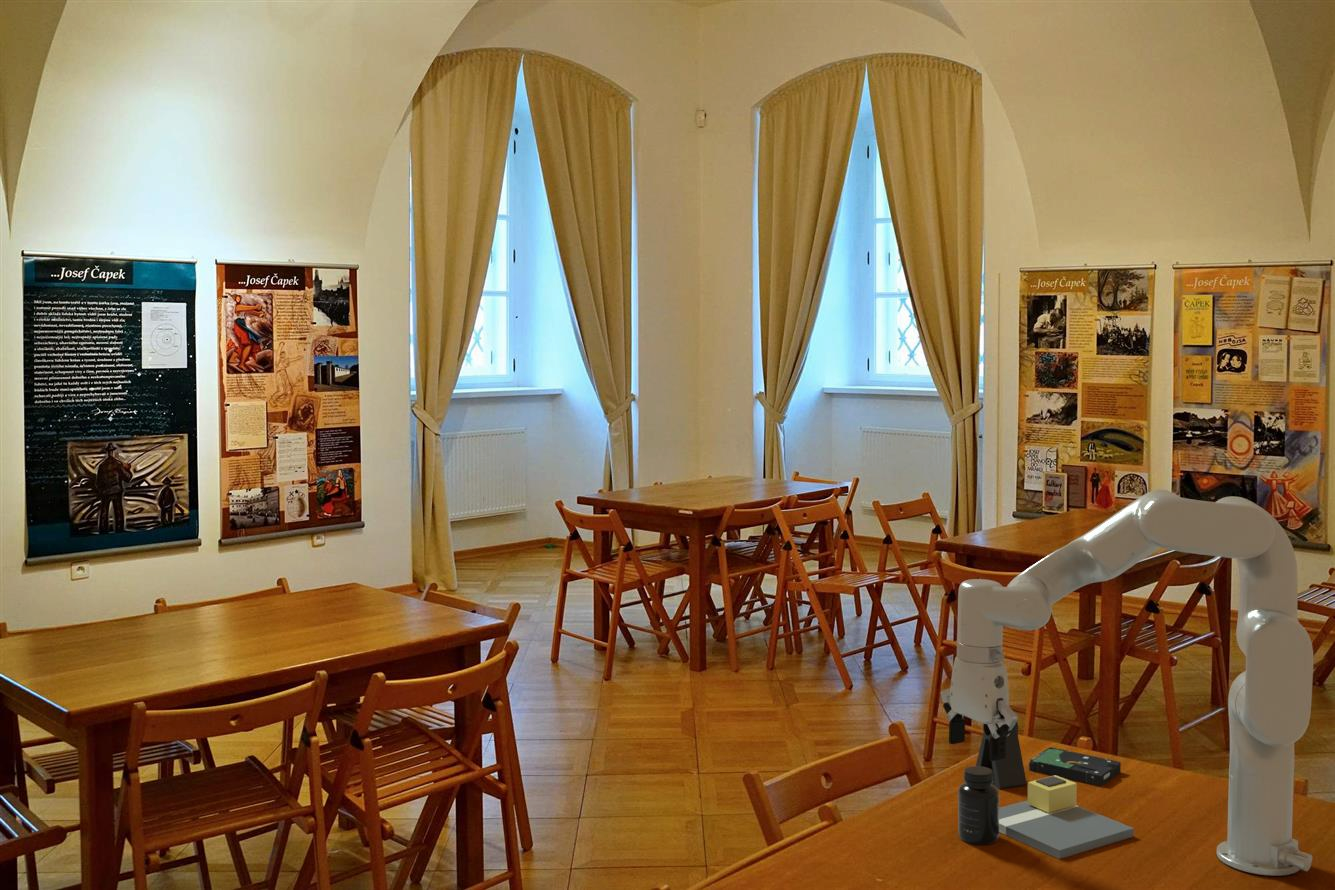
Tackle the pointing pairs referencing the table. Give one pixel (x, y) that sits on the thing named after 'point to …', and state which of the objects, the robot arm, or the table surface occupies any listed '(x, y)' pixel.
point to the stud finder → (1052, 793)
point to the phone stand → (1003, 760)
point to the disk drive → (1075, 766)
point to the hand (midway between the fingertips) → (976, 750)
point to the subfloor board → (1060, 828)
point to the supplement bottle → (978, 807)
